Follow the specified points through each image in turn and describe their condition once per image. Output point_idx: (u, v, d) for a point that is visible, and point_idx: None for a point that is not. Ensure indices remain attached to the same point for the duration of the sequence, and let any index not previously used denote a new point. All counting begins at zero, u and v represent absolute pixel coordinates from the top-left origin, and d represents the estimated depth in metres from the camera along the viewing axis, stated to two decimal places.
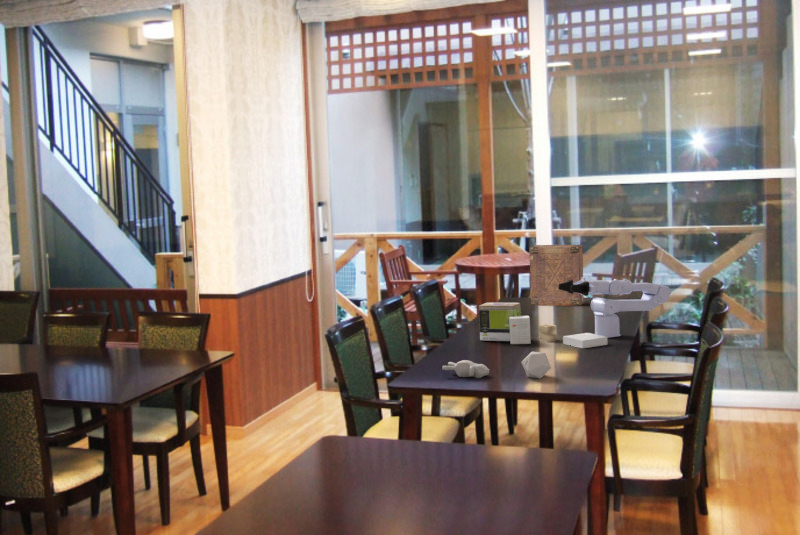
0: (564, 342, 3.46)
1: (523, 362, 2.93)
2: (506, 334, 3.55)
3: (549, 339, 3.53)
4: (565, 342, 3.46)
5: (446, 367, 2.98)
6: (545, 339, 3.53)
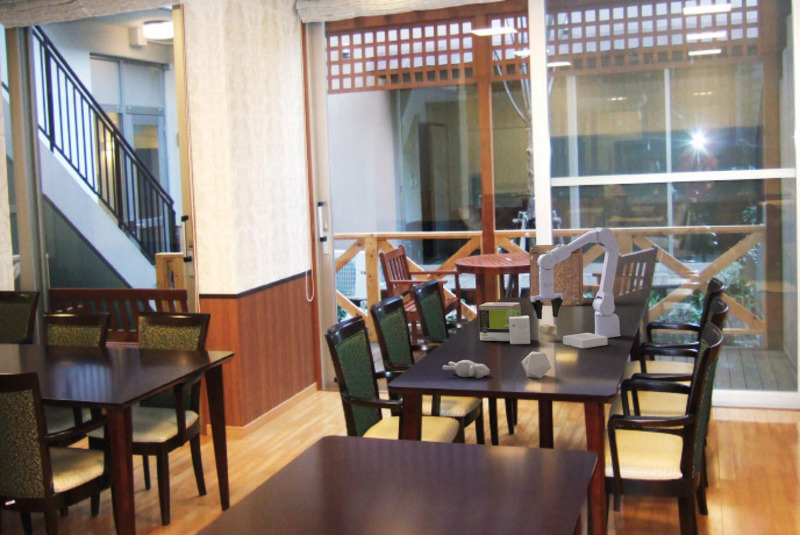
0: (564, 342, 3.46)
1: (523, 362, 2.93)
2: (505, 334, 3.55)
3: (549, 339, 3.53)
4: (565, 342, 3.46)
5: (446, 367, 2.98)
6: (545, 339, 3.53)
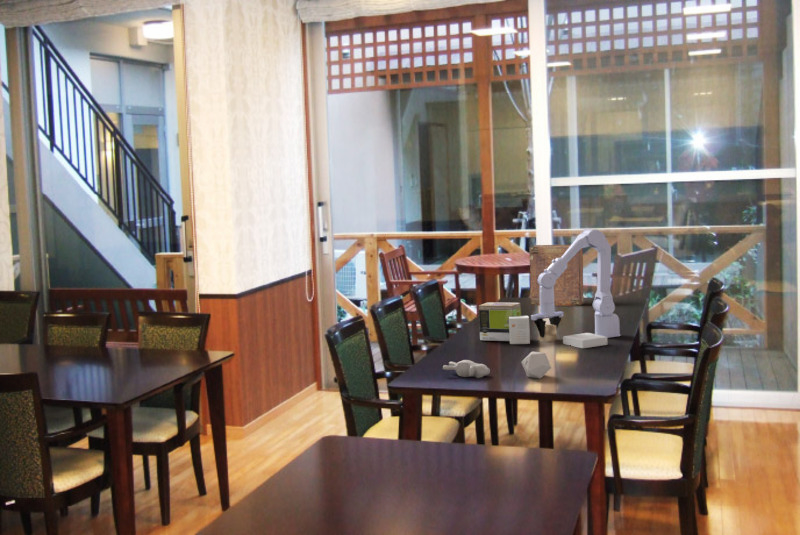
0: (564, 342, 3.46)
1: (523, 362, 2.93)
2: (505, 334, 3.55)
3: (549, 339, 3.53)
4: (565, 342, 3.46)
5: (446, 367, 2.98)
6: (545, 339, 3.53)
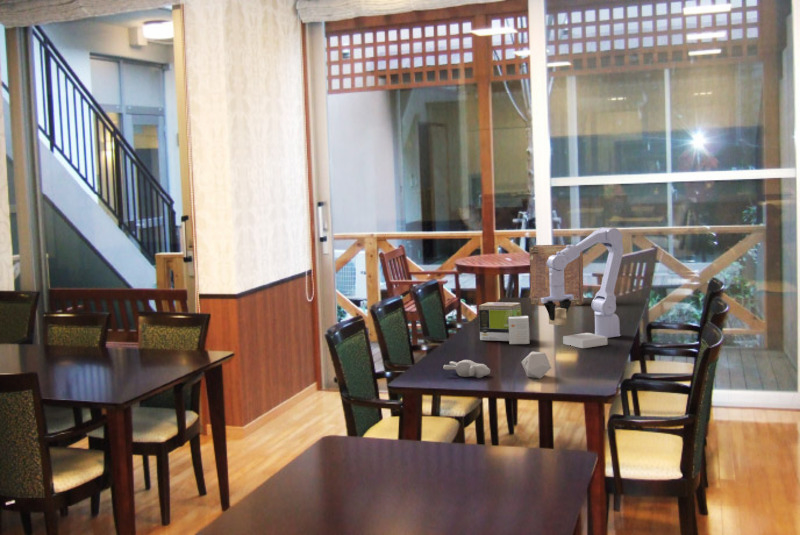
0: (564, 342, 3.46)
1: (523, 362, 2.93)
2: (505, 334, 3.55)
3: (559, 322, 3.50)
4: (565, 342, 3.46)
5: (447, 366, 2.98)
6: (555, 322, 3.49)
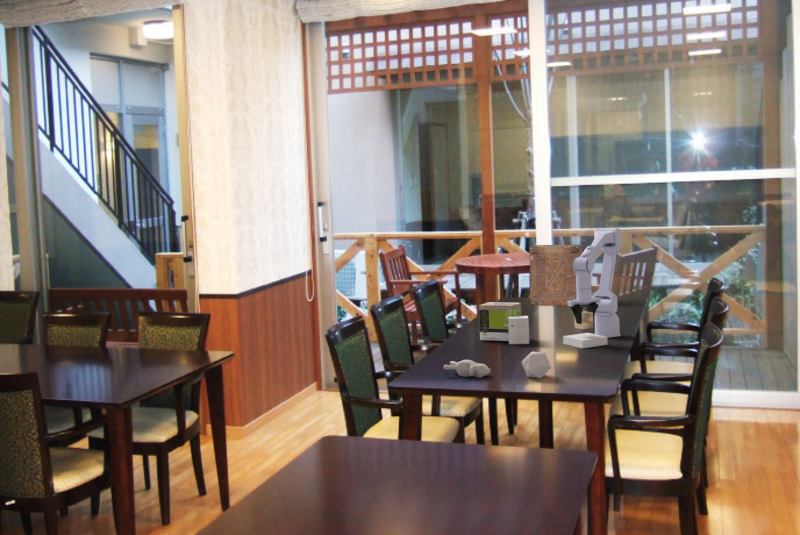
0: (564, 342, 3.46)
1: (523, 362, 2.93)
2: (505, 334, 3.55)
3: (585, 326, 3.41)
4: (565, 342, 3.46)
5: (447, 366, 2.99)
6: (581, 326, 3.41)
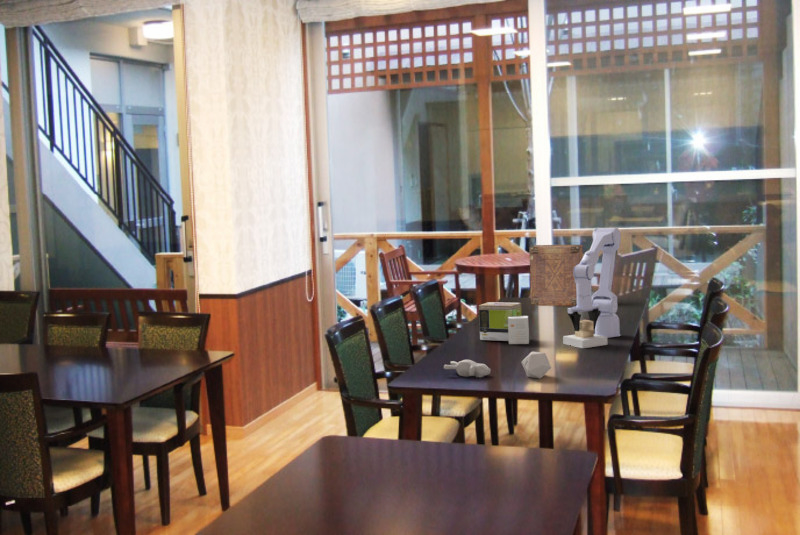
0: (564, 342, 3.46)
1: (523, 362, 2.93)
2: (505, 334, 3.55)
3: (586, 335, 3.42)
4: (565, 342, 3.46)
5: (447, 366, 2.99)
6: (582, 335, 3.42)
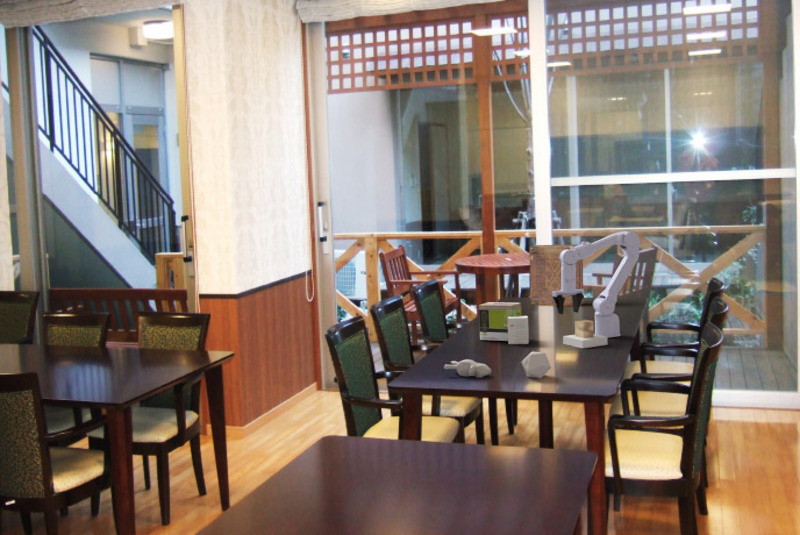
0: (564, 342, 3.46)
1: (523, 362, 2.93)
2: (504, 334, 3.55)
3: (586, 335, 3.42)
4: (565, 342, 3.46)
5: (448, 366, 2.99)
6: (582, 335, 3.42)
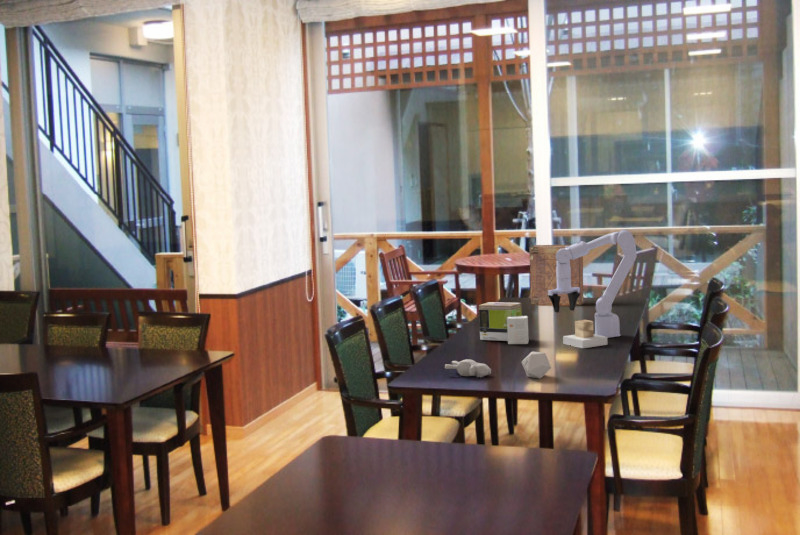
0: (564, 342, 3.46)
1: (523, 362, 2.93)
2: (504, 334, 3.56)
3: (586, 335, 3.42)
4: (565, 342, 3.46)
5: (448, 366, 3.00)
6: (582, 335, 3.42)
